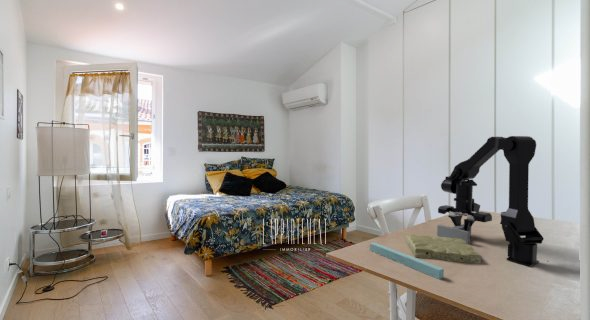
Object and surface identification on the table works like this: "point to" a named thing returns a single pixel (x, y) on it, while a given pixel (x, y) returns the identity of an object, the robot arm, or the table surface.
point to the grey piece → (454, 232)
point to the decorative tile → (442, 248)
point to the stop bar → (408, 260)
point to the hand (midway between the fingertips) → (462, 234)
